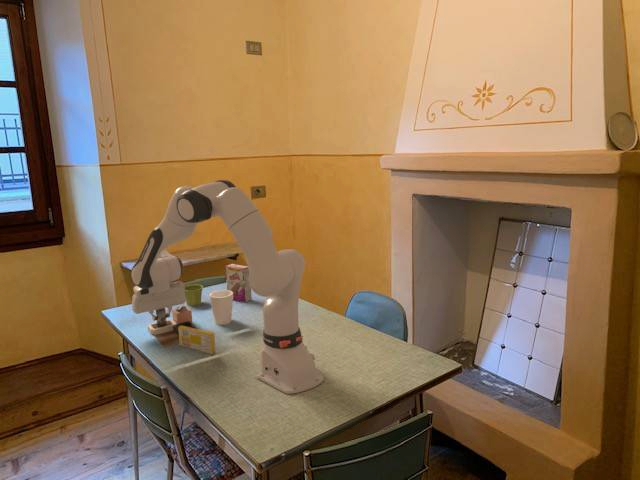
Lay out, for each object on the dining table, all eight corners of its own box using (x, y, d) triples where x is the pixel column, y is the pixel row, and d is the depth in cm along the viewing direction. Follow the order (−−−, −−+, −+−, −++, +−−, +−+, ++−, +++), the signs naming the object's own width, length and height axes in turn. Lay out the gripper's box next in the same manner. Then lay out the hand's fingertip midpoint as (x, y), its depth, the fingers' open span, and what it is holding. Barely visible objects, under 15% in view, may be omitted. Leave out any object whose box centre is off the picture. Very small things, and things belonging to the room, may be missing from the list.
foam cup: (237, 319, 197) (235, 290, 195) (231, 328, 188) (229, 297, 186) (215, 319, 198) (213, 290, 196) (208, 328, 189) (206, 297, 187)
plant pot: (181, 304, 218) (180, 286, 216) (202, 300, 222) (200, 283, 220) (185, 310, 210) (183, 292, 208) (206, 306, 214) (205, 288, 212)
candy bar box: (227, 299, 223) (224, 265, 219) (234, 296, 227) (232, 263, 223) (245, 303, 217) (243, 268, 213) (252, 299, 221) (250, 266, 217)
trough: (178, 329, 187) (177, 324, 186) (152, 335, 181) (151, 330, 181) (172, 323, 193) (171, 318, 193) (147, 329, 188) (146, 324, 187)
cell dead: (188, 324, 191) (187, 306, 190) (180, 326, 190) (178, 308, 188) (185, 321, 194) (184, 304, 193) (177, 323, 192) (175, 306, 191)
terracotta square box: (192, 324, 191) (191, 310, 190) (178, 328, 188) (176, 313, 187) (187, 319, 196) (186, 306, 195) (173, 323, 193) (171, 309, 191)
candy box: (216, 354, 167) (214, 332, 165) (212, 356, 165) (210, 334, 163) (183, 345, 175) (181, 324, 173) (179, 347, 173) (177, 326, 171)
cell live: (168, 326, 187) (166, 308, 185) (159, 328, 185) (157, 310, 183) (165, 323, 189) (163, 305, 188) (156, 325, 187) (154, 307, 186)
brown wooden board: (207, 338, 179) (206, 331, 179) (164, 350, 171) (164, 342, 170) (187, 321, 197) (186, 314, 196) (148, 330, 188) (147, 323, 188)
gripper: (181, 278, 191) (184, 310, 194) (128, 288, 180) (133, 322, 183) (186, 282, 186) (189, 314, 189) (132, 292, 175) (137, 327, 178)
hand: (161, 318), depth 186 cm, fingers closed on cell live, 4 cm apart
